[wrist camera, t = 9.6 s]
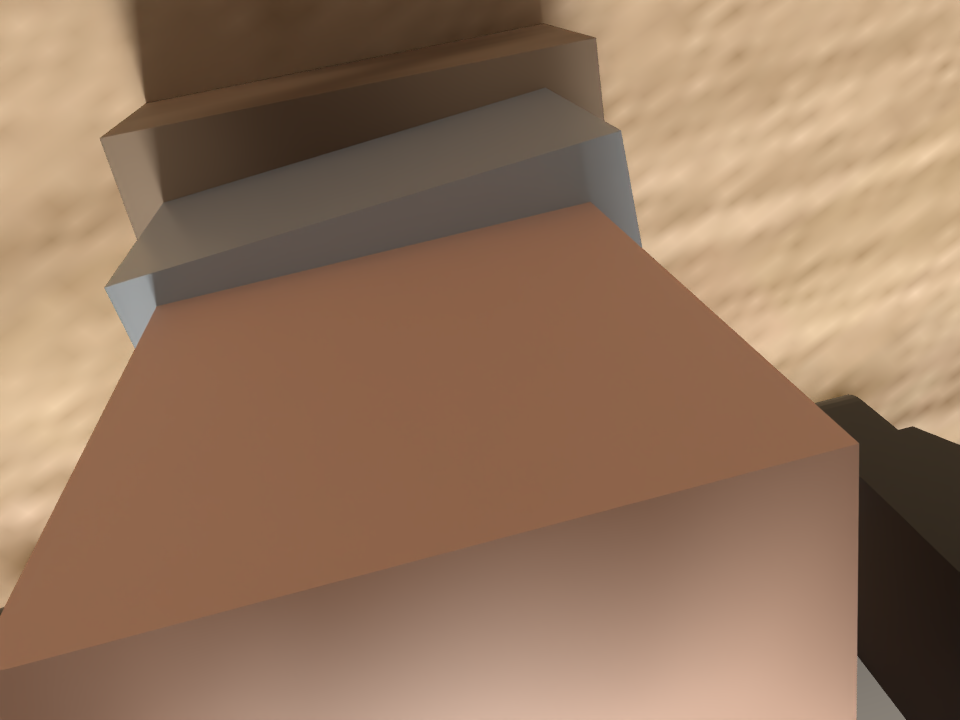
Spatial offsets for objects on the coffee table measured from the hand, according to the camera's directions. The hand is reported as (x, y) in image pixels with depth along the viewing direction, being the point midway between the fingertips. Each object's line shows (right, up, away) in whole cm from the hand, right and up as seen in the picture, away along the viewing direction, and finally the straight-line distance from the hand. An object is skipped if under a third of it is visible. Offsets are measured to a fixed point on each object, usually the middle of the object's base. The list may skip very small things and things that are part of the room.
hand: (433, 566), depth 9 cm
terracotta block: (0, +1, +3) cm, 3 cm away
